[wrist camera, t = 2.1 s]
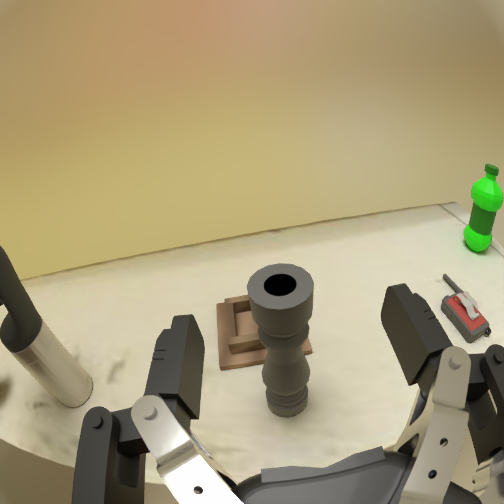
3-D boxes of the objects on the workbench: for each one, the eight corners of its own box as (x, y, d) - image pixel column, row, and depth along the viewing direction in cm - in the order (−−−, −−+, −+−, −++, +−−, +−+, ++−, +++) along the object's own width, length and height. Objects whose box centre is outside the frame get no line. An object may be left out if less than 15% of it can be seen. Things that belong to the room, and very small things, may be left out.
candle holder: (259, 400, 38) (229, 286, 23) (287, 376, 41) (279, 253, 26) (286, 424, 34) (280, 325, 19) (315, 398, 37) (331, 281, 22)
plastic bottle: (464, 254, 58) (483, 168, 44) (458, 235, 65) (472, 157, 51) (491, 259, 53) (513, 176, 40) (483, 240, 61) (499, 164, 47)
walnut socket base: (221, 370, 44) (215, 357, 42) (217, 307, 57) (213, 293, 55) (311, 353, 44) (312, 339, 42) (291, 294, 58) (290, 279, 55)
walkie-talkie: (493, 333, 36) (444, 278, 53) (502, 319, 34) (449, 263, 51) (470, 350, 36) (420, 287, 53) (479, 335, 33) (424, 272, 50)
